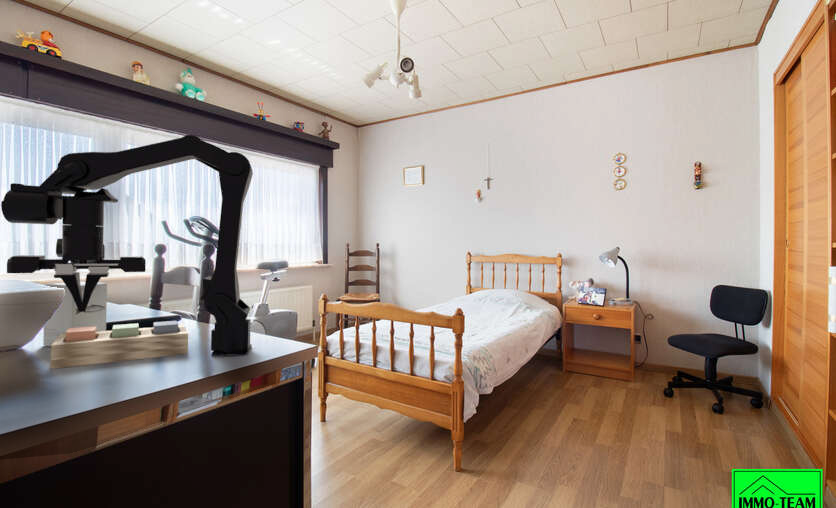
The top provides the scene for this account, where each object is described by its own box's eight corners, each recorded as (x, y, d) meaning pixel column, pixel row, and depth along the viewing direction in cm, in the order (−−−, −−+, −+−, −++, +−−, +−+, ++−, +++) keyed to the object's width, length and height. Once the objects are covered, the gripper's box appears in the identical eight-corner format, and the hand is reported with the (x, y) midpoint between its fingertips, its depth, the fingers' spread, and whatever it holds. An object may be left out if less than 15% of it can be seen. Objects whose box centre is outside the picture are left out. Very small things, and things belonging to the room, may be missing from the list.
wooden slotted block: (183, 343, 86) (183, 324, 86) (187, 353, 79) (188, 333, 79) (59, 355, 75) (59, 334, 74) (51, 368, 67) (51, 345, 67)
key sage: (138, 335, 79) (138, 323, 79) (138, 340, 76) (138, 327, 76) (113, 337, 77) (113, 325, 77) (111, 342, 74) (112, 329, 74)
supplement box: (71, 349, 79) (72, 285, 79) (41, 346, 80) (42, 283, 80) (107, 340, 86) (108, 282, 86) (79, 338, 88) (80, 280, 87)
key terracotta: (96, 339, 76) (96, 326, 76) (94, 344, 72) (94, 330, 72) (68, 341, 73) (68, 328, 73) (65, 346, 70) (65, 332, 70)
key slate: (176, 332, 83) (176, 320, 83) (177, 336, 80) (178, 324, 80) (153, 334, 81) (153, 322, 81) (154, 338, 77) (154, 326, 77)
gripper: (145, 228, 84) (143, 302, 85) (22, 223, 74) (21, 308, 74) (146, 228, 75) (144, 310, 76) (6, 222, 64) (5, 318, 65)
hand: (82, 311), depth 73 cm, fingers closed
